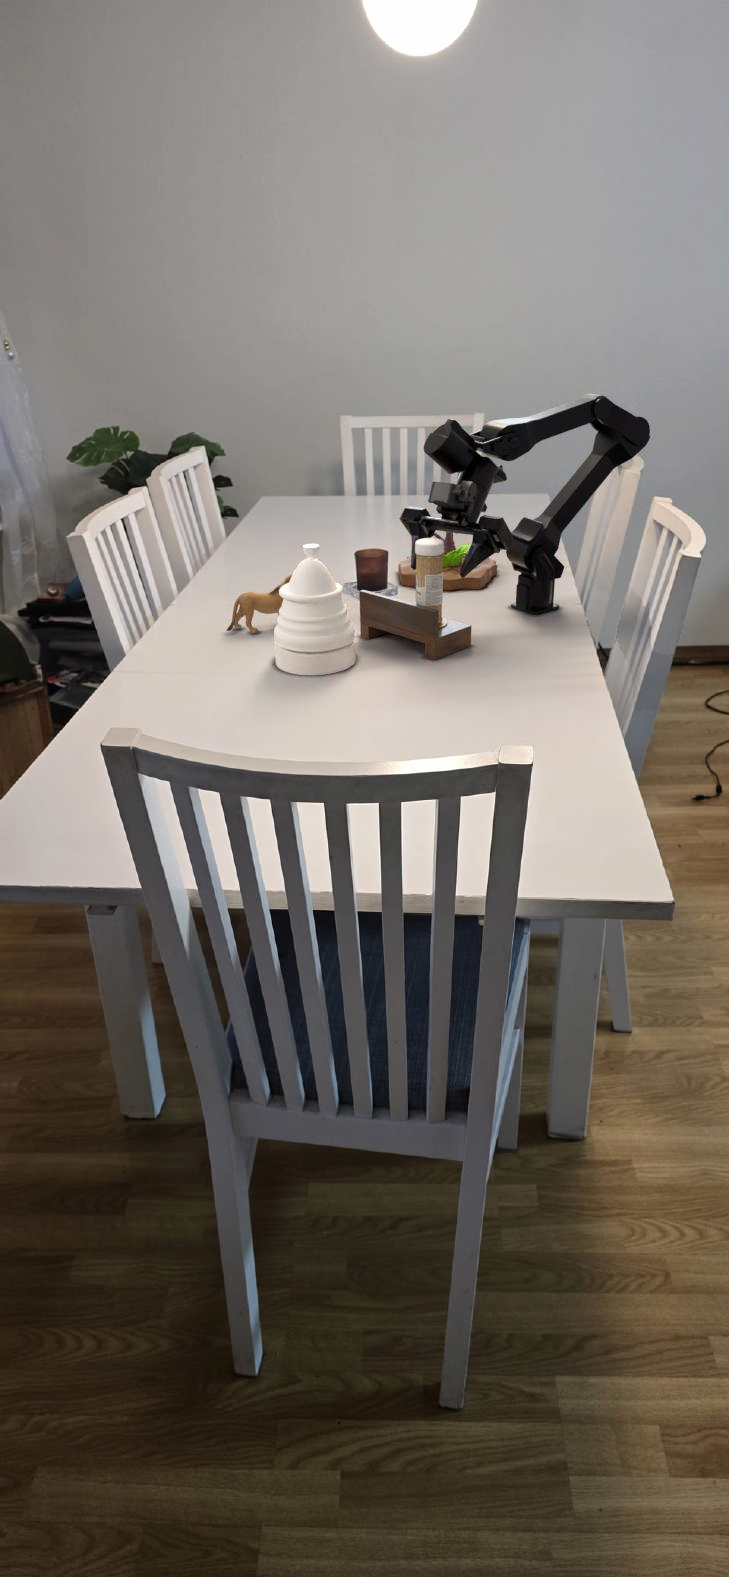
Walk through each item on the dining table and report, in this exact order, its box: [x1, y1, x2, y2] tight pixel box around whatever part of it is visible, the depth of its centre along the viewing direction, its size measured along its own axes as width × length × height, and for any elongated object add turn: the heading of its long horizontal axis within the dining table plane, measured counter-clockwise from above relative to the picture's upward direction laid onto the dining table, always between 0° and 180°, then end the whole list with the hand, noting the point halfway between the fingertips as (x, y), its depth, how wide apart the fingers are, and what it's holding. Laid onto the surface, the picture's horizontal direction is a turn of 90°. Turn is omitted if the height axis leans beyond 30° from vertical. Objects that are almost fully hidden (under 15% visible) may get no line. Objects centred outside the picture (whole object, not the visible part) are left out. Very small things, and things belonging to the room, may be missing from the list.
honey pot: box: [273, 543, 357, 676], centre depth 155 cm, size 13×13×18 cm
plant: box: [398, 532, 498, 591], centre depth 197 cm, size 20×20×11 cm
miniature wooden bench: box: [358, 589, 472, 661], centre depth 164 cm, size 9×17×8 cm, turn 44°
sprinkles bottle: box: [415, 537, 444, 623], centre depth 160 cm, size 5×5×14 cm
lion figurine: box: [226, 573, 293, 634], centre depth 172 cm, size 15×5×9 cm, turn 110°
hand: (436, 572), depth 161 cm, fingers open, 9 cm apart
